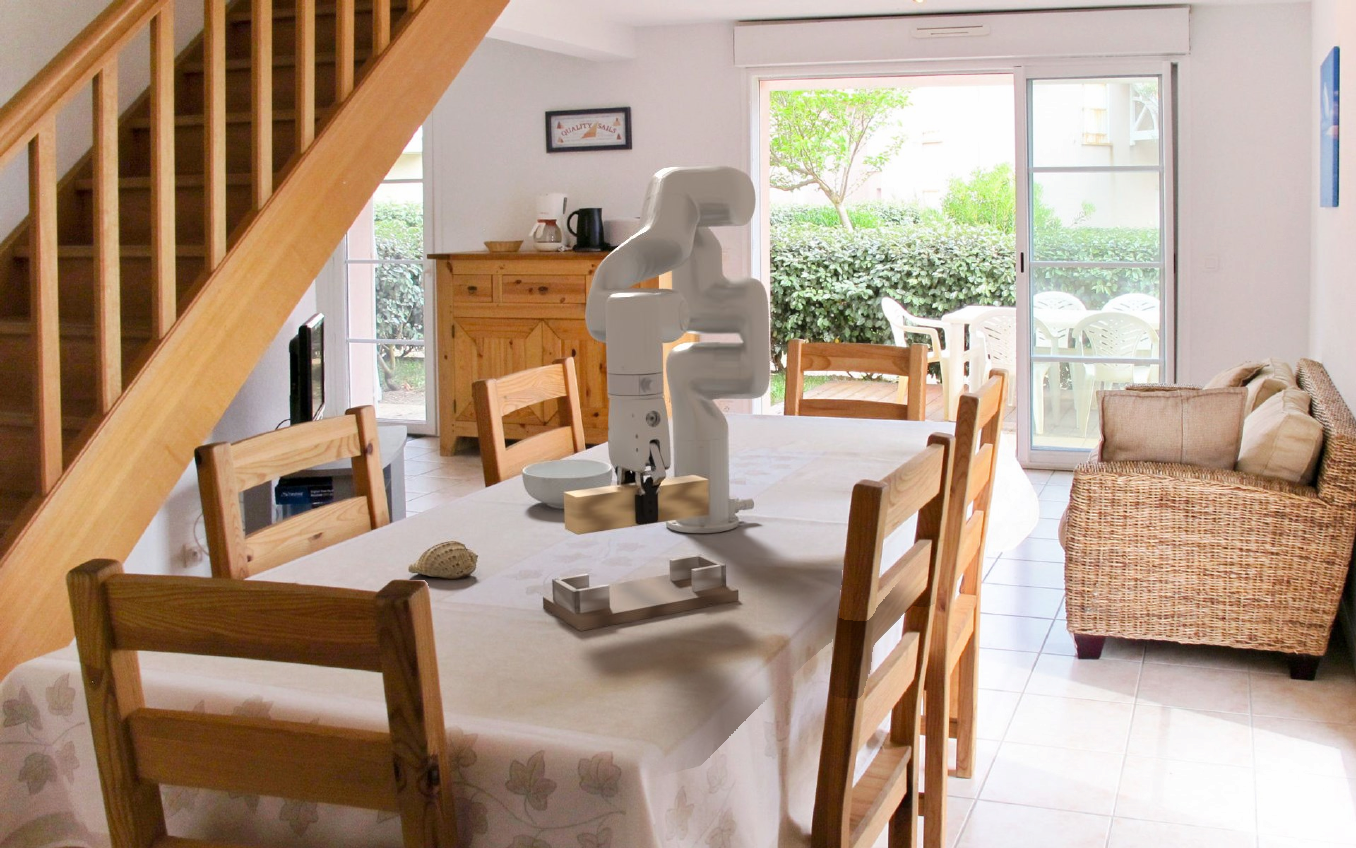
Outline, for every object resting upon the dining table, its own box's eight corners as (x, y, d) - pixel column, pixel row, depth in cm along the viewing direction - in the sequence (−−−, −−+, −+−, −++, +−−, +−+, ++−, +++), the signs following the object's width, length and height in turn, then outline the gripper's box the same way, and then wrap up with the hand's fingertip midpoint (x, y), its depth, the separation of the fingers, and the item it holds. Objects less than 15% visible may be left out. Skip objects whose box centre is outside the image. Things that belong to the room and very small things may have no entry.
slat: (694, 509, 176) (693, 474, 175) (709, 514, 172) (708, 479, 172) (565, 528, 166) (563, 492, 165) (577, 534, 163) (576, 497, 162)
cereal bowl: (504, 506, 233) (503, 469, 232) (568, 491, 246) (566, 455, 245) (569, 518, 222) (567, 480, 221) (631, 502, 235) (630, 465, 234)
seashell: (426, 604, 183) (486, 570, 185) (406, 570, 181) (467, 536, 183) (421, 590, 190) (479, 557, 192) (401, 557, 189) (460, 524, 191)
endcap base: (694, 580, 182) (693, 550, 181) (738, 600, 172) (738, 568, 171) (543, 607, 170) (541, 575, 170) (580, 631, 160) (579, 597, 159)
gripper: (691, 389, 161) (693, 528, 164) (631, 378, 175) (634, 505, 178) (639, 394, 157) (643, 535, 160) (583, 382, 172) (587, 512, 175)
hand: (638, 518), depth 169 cm, fingers closed on slat, 4 cm apart
